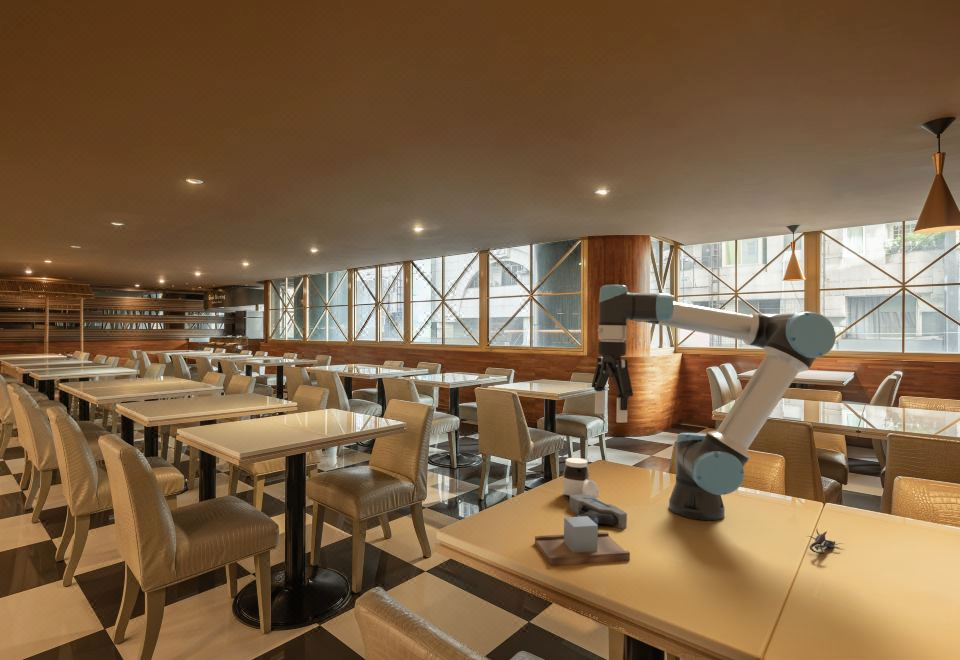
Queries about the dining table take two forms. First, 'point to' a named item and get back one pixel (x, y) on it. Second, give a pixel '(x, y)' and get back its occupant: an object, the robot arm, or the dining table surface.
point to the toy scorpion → (820, 540)
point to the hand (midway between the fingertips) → (610, 417)
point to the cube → (580, 534)
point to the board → (563, 555)
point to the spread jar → (578, 479)
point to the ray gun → (597, 510)
